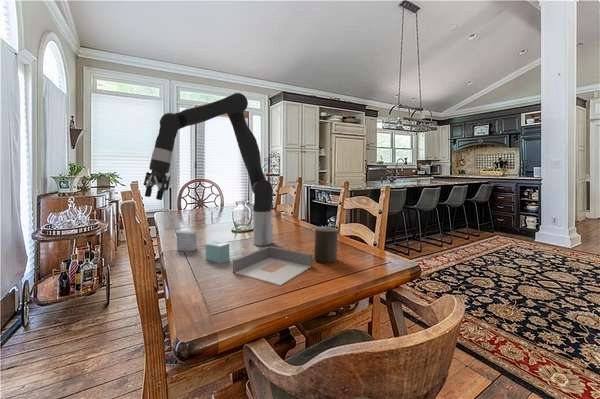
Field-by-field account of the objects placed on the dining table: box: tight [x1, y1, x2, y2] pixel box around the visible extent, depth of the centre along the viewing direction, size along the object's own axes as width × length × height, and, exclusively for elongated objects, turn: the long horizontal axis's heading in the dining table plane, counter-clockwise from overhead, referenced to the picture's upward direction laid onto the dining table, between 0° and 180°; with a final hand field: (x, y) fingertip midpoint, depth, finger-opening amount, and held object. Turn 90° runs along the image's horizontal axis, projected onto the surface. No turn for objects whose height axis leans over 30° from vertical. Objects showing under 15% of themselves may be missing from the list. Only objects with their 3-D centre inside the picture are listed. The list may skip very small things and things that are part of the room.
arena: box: [232, 245, 314, 287], centre depth 109 cm, size 22×22×5 cm
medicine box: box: [175, 230, 198, 252], centre depth 133 cm, size 8×4×9 cm, turn 84°
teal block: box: [204, 240, 231, 264], centre depth 119 cm, size 5×9×7 cm, turn 58°
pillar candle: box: [313, 226, 339, 264], centre depth 120 cm, size 10×10×15 cm
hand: (153, 198), depth 117 cm, fingers open, 8 cm apart
